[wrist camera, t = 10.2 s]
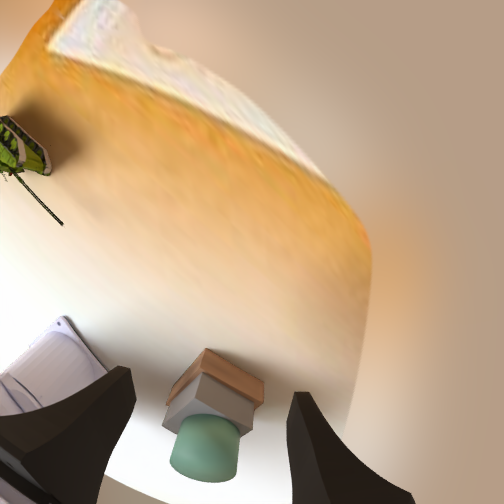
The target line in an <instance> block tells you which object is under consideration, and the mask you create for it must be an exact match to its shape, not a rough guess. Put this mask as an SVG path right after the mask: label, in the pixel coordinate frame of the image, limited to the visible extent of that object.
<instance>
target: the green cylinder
mask: <svg viewBox="0 0 504 504" xmlns="http://www.w3.org/2000/svg"><path fill="white" fill-rule="evenodd" d="M239 442H240V431H239V429H238V428H237V427H236V426H235V425H234V424H233V423H232V422H230V421H229V420H227V419H225V418H222V417H220V416H216V415H211V414H194V415H190V416H188V417H186V418H185V419H184V420H183V421H182V423H181V426H180V429H179V432H178V435H177V438H176V441H175V444H174V448H173V451H172V454H171V457H170V464H171V466H172V467H173V468H174V469H175V470H176V471H177V472H179V473H180V474H182V475H184V476H186V477H188V478H191V479H194V480H198V481H202V482H211V483H218V482H225V481H228V480H231V479H232V478H234V477H235V475H236V472H237V462H238V452H239Z"/></svg>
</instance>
